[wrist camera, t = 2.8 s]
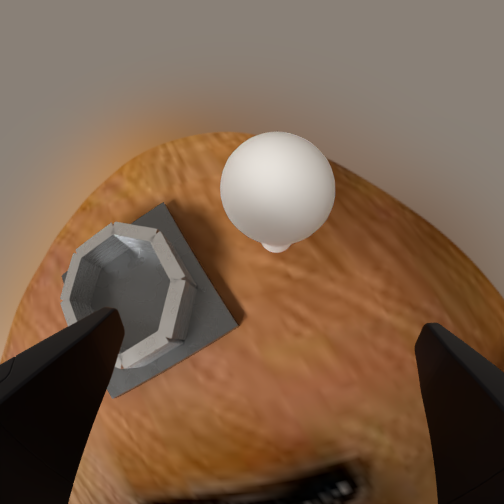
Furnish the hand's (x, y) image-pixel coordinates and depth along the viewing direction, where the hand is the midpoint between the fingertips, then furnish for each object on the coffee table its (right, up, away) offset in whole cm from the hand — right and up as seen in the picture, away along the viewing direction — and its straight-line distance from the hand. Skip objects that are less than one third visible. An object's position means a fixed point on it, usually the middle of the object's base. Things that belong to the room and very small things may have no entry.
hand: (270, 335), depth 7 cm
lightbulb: (+1, +3, +15) cm, 16 cm away
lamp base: (-10, -2, +14) cm, 17 cm away
